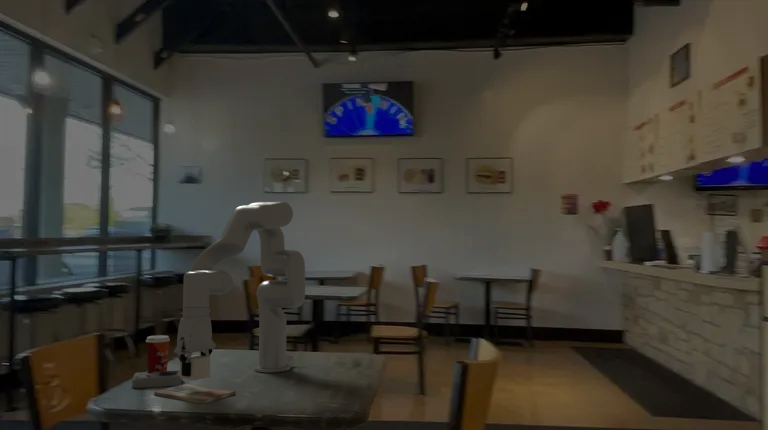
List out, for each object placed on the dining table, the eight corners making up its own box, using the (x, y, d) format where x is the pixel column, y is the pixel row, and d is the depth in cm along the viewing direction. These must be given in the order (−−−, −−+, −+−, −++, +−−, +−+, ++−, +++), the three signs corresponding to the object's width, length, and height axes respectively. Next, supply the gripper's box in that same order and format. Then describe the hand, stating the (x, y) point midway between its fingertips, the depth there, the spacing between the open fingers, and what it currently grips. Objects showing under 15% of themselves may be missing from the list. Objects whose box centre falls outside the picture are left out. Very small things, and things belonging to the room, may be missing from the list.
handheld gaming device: (134, 383, 206) (135, 371, 206) (182, 381, 210) (182, 369, 210) (131, 390, 197) (131, 378, 197) (181, 387, 201) (181, 375, 201)
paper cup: (161, 382, 206) (162, 338, 207) (140, 381, 208) (140, 338, 208) (174, 377, 214) (174, 335, 214) (153, 376, 215) (153, 334, 216)
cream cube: (195, 374, 193) (195, 354, 194) (209, 376, 190) (210, 356, 191) (179, 378, 188) (180, 357, 189) (194, 380, 185) (194, 359, 186)
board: (188, 386, 200) (188, 383, 200) (235, 394, 190) (235, 390, 190) (154, 395, 189) (154, 391, 189) (202, 403, 179) (203, 399, 179)
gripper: (208, 310, 200) (207, 368, 199) (164, 314, 185) (162, 377, 184) (226, 311, 196) (225, 370, 195) (182, 316, 181) (181, 380, 180)
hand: (194, 373), depth 189 cm, fingers closed on cream cube, 6 cm apart
